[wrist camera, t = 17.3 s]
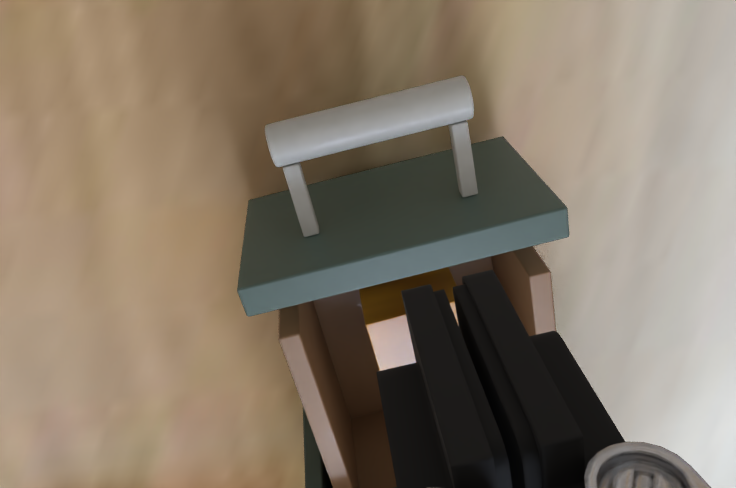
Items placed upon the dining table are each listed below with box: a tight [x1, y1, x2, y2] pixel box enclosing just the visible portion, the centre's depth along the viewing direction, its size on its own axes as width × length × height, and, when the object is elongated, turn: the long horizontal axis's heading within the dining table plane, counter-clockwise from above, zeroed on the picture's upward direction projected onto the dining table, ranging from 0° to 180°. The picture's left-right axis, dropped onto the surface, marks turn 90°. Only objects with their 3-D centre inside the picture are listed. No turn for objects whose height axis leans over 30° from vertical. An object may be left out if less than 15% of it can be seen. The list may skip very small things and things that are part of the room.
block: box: [359, 267, 459, 371], centre depth 28 cm, size 4×4×4 cm
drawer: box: [237, 75, 569, 488], centre depth 27 cm, size 18×11×7 cm, turn 13°
